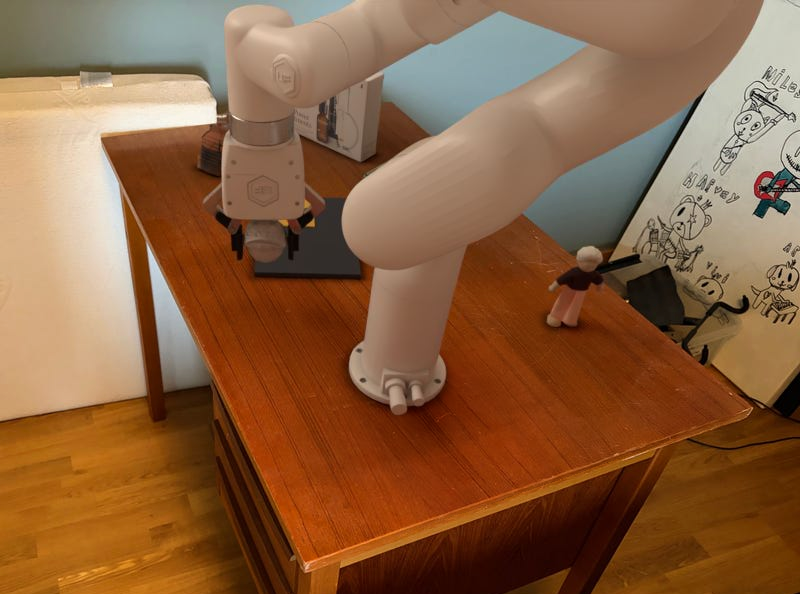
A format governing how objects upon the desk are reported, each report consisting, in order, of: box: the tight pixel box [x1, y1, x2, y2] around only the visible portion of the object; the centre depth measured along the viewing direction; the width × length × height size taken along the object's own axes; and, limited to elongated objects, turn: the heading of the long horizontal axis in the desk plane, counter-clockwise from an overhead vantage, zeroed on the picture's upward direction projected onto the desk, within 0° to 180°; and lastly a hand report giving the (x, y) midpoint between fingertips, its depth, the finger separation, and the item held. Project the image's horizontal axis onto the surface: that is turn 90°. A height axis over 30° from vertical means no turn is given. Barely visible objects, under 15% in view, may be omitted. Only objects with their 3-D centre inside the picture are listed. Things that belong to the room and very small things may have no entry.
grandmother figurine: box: [546, 245, 605, 328], centre depth 96 cm, size 8×4×13 cm, turn 105°
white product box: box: [294, 71, 385, 163], centre depth 131 cm, size 21×5×16 cm, turn 50°
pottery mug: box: [196, 123, 229, 177], centre depth 125 cm, size 12×10×8 cm
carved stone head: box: [242, 220, 288, 263], centre depth 91 cm, size 6×7×7 cm
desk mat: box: [253, 196, 362, 280], centre depth 111 cm, size 22×16×1 cm
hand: (265, 253), depth 93 cm, fingers closed on carved stone head, 6 cm apart
